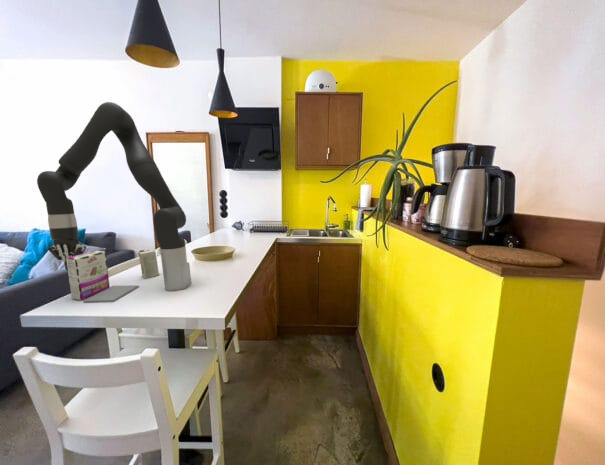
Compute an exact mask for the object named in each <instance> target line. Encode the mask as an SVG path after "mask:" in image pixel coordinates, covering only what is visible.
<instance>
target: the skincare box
mask: <svg viewBox="0 0 605 465" xmlns="http://www.w3.org/2000/svg"><path fill="white" fill-rule="evenodd" d="M156 253H157V252H156V251H155V250H153V249H150V250H145V251H139V252H138V257H139V258H138V259H139V263H140V264H139V265H140V268H141V275H142V276H141V277H142V278H144V279H150V278H152V277H153V278H154V277H157V276H160V271H159V266H158V260H157V254H156Z"/></svg>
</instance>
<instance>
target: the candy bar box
mask: <svg viewBox="0 0 605 465" xmlns="http://www.w3.org/2000/svg"><path fill="white" fill-rule="evenodd" d="M66 262H67V269H68V271H67V273H68V274H67V275H68V282H69V287H70V295H71V299H73V300H76V301H84V300H86V299H88V298H90V297H92V296H94V295H96V294H98V293H100V292H102V291H104V290H106V289H108V288H110V287H111V286H110V280H109V270H108V261H107V253H106V251H102V250H97V249H96V250H93V251H90V252H83V254H80V255H76V256H72V257H68V258H66Z"/></svg>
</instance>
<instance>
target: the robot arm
mask: <svg viewBox="0 0 605 465" xmlns="http://www.w3.org/2000/svg"><path fill="white" fill-rule="evenodd" d="M110 132H112V133H114V135H115V136H116V138H117V140H118V141H119V142H120V144H121V145H122V148H123V150H124V154H125V158H126V159H125V160H126V163H127V167H128V169H129V171H130V172H131V175H132V176H133V178H134V180H135V181H136V183H137V184H138V185H139V186H140V187H141V188H142V189H143V190H144V191H145V192H146V193H147V194H148V195H150V196H151V198H153V200H154V201H155V202H156V203H157V205H158V206H159V208H160V209H158V210H156V212H155V213H154V215H153V227H154V235H155V238H156V241H157V243H158V245H159V249H160V250H159V252H160V259H161V267H162V275H163V276H162V277H163V284H164V289H165V290H166V291H170V292H171V291H172V292H173V291H179V290H186V288H187V287H190V285H191V284H192V277H191V266H190V262H188V260H187V259H188V257H187V248H186V247H187V246H186V241H185V240H186V239H185V238H183V237H181V236H180V233H179V229H182V228H183V227H184V226H185V225H186V222H187V216H186V214H185V211H184V210H183V208H182V206H180V204H179V202H178V201H177V200H176V198H175V197H174V195H173V194H172V192H171V190H170V188H169V186H168V184H167V182H166V181H165V179H164V177H163V175H162V172H161V171H160V169H159V167H158V165H157V163H156V162H155V160H154V159H153V157H152V155H151V154H150V152H149V150H148V148H147V147H146V146H145V144H144V142H143V140H142V138H141V135H140V133H139V131H138V128H137V126H136V123H135V121H134V118H132V116H131V115H130V114H129V112H127V111H126V110H125V109H124V108H123V107H122V106H121V105H120V104H118V103H115V102H111V101H106V102H104V103H102V104H100V105H99V106H98V107H97V109H96V110H95V111H94V113H93V114H92V116H91V118H90V120H89V121H88V123H87V124H86V125H85V127H84V129H83V130H82V132H81V134H80V135H79V137H78V138H77V139H76V141H75V142H74V143H73V144H72V145H71V146H70V148H68V149H67V150H66V152H64V153H63V154H62V155H61V157H60V158H59V160H58V164H59V166H58V167H57V169H56V170H55V171H52V170H45V171H42V172H40V173H39V175H38V176H37V179H36V184H37V187H38V190H39V192H40V194H41V197H42V198H43V200H44V201H45V202H44V203H45V205H46V206H45V207H46V212H47V223H48V228H49V229H48V230H49V234H50V239H51V240H53V242H52V244H53V245H52V246H50V247H48V248H47V250H48V251H49V253H51V254H52V255H53V256H54V257H55V259H57V260H58V261H62V262H63V263H64V268H65V271H67V272H68V269H67V262H66V258H68V257H72V256H76V255H80V254H84V253H85V251H86V249H87V246H86V245H81V244H80V241H79V240H78V238H79V237H80V234H79V228H78V222H77V218H76V214H75V209H74V205H73V204H74V203H73V201H72V200H71V198H70V199H69V198H68V197H67V195H66V191H69V190H70V189H71V188H73V187H74V186H75V185H76V183H77V182H78V180H79V178H80V176H81V174H82V173H83V171H85V169H87V167H88V166H90V164H91V163H92V162H93V161H94V159H95V158H96V156H97V153H98V151H99V149H100V145H101V143H102V141H103V140H104V138H105V137H106V136H107V135H108V134H109V133H110Z"/></svg>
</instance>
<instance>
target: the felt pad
mask: <svg viewBox="0 0 605 465" xmlns="http://www.w3.org/2000/svg"><path fill="white" fill-rule="evenodd" d="M109 287H110V288H108V289H106V290H104V291H102V292H100V293H98V294H96V295H94V296H91V297H89V298H87V299H84V300H82V302H83V303H85V304H87V303H91V304H92V303H115V302H116V301H118V300H120V299H121V298H123V297H125V296H126V295H128V294H130V293H132V292H134V291H135V290H137V289H138V288H140V285H139V284H138V285H135V284H134V285H132V284H131V285H112V286H109Z"/></svg>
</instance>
